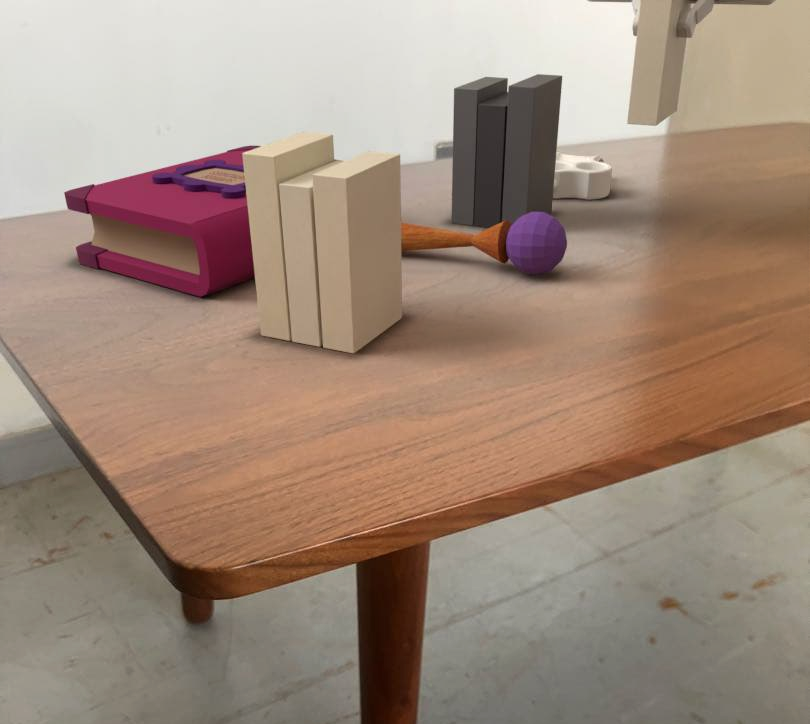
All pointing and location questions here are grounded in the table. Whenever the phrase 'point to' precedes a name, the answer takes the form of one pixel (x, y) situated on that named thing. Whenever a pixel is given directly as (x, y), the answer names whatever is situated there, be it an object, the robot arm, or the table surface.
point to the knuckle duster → (581, 177)
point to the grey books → (504, 149)
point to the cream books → (324, 241)
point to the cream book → (657, 62)
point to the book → (172, 224)
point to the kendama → (500, 241)
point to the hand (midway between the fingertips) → (661, 32)
